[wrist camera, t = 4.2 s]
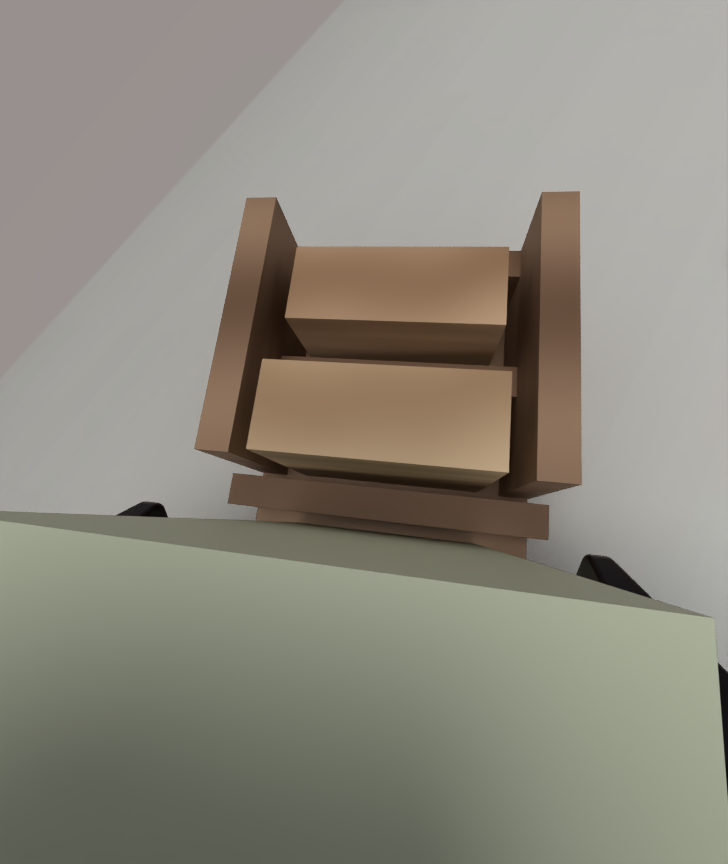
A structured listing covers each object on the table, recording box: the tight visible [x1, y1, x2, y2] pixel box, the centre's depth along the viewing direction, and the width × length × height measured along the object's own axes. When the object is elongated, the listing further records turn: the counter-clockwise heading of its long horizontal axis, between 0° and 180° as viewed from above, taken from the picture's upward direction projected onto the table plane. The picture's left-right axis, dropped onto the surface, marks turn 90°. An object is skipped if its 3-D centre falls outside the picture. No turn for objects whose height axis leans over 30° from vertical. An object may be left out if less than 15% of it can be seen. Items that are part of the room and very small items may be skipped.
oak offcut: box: [246, 359, 512, 492], centre depth 13 cm, size 2×6×6 cm, turn 84°
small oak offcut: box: [285, 247, 509, 366], centre depth 14 cm, size 2×6×4 cm, turn 84°
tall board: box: [0, 511, 728, 864], centre depth 9 cm, size 2×6×12 cm, turn 84°
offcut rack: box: [194, 191, 582, 559], centre depth 13 cm, size 15×10×6 cm, turn 174°
